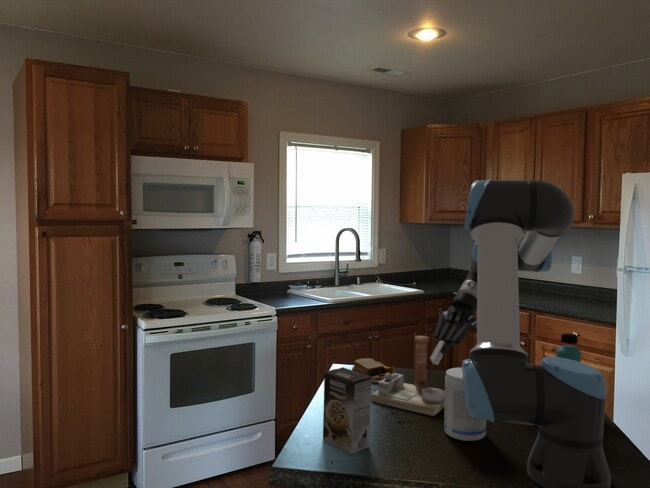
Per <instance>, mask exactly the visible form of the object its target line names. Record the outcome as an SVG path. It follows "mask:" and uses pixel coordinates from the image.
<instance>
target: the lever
mask: <svg viewBox="0 0 650 488" xmlns="http://www.w3.org/2000/svg"><path fill="white" fill-rule="evenodd" d="M414 342H416V344H415V345H416V348H415V371H414V373H415V377H414V379H415V380H414V385H415V387H416V388H417V389H418V390H419V391H420V392H421V393H422V400H424V401H426V402H429V403H442V402H444V401H445V390H443V389H440V388H435V387H430V386H429V385H428V384H427V361H428V343H430V336H427V335H415V336H414Z"/></svg>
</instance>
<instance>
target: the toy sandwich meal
mask: <svg viewBox="0 0 650 488" xmlns="http://www.w3.org/2000/svg"><path fill="white" fill-rule="evenodd" d="M351 368H352V369H351V370H353V371H356V372H359V373H362V374H365V375H368V376H372V384H378V382H379V381H381V380H383V379H385V374H386V373H390V374H391V375H392V374H393V373H395V369H396V367H395V366H391V367H389V366H387V365H385V364H384V363H382V362H381V361H376V360H374V359H373V358H371V357H370V358H369V357H366V358H359V359H355V360H354V364H353V367H351Z"/></svg>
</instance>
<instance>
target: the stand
mask: <svg viewBox="0 0 650 488" xmlns="http://www.w3.org/2000/svg"><path fill="white" fill-rule="evenodd" d="M404 376H405V375H404V374H401V373H396V372H393V374H392V375H391V374H390V373H386V374H385V379H383V380H381V381H379V382H378V383H377V384H378V385H377V390H376V391H374V392H371V403H372V402H373V403H377V404H381V405H386V406H389V407H390V406H391V407H395V408H398V409H403V410H407V411H411V412H414V413H420V414H423V415H428V416H432V417H434V416H436V415H437V414H438V413H440V412H441V411H442V410H443V409H445V401H444V402H442V403H429V402H426V401H424V400H422V393H421V392H420V391H419V390H418V389H417V388H416V387H415V384H411V383H408V382H407V383H406V382H404Z"/></svg>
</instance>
